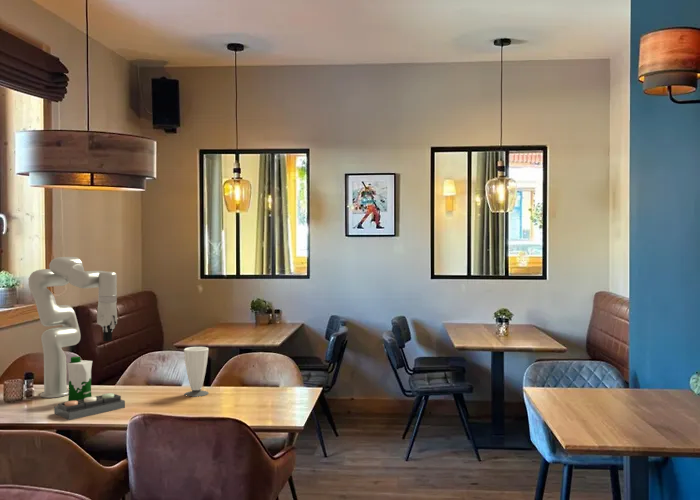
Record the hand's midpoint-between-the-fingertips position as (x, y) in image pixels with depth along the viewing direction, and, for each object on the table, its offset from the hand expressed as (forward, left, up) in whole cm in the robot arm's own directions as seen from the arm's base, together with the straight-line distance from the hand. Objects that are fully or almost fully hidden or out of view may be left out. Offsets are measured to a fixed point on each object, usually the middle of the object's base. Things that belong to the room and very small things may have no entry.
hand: (107, 340), depth 262 cm
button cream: (+3, -9, -25) cm, 27 cm away
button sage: (+3, -1, -25) cm, 25 cm away
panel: (+3, -9, -28) cm, 30 cm away
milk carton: (-15, -5, -29) cm, 33 cm away
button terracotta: (+3, -17, -25) cm, 31 cm away
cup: (+14, +37, -29) cm, 49 cm away
